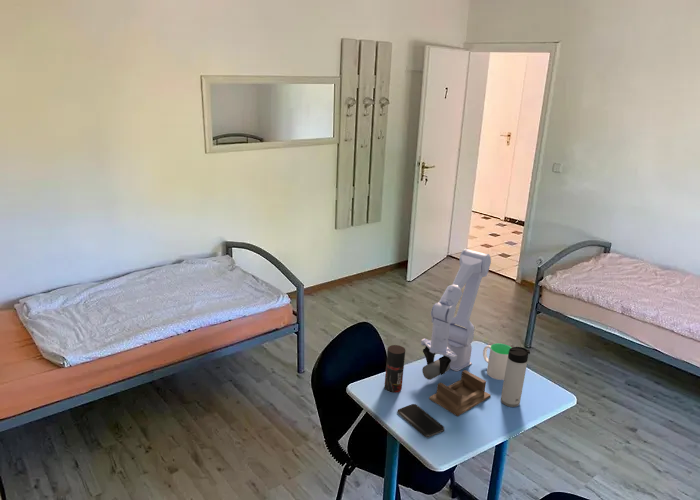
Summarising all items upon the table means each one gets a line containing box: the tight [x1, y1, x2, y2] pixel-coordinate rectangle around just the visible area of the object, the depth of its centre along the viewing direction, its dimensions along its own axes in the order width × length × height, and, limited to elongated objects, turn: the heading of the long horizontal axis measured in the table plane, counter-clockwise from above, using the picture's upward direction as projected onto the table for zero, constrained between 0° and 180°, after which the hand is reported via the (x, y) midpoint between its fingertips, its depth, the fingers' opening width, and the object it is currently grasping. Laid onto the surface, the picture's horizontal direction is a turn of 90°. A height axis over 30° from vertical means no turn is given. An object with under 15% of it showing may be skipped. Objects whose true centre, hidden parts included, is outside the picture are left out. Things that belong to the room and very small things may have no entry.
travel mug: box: [500, 346, 531, 408], centre depth 183 cm, size 6×7×20 cm
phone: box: [396, 403, 445, 438], centre depth 174 cm, size 8×1×15 cm
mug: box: [482, 342, 512, 381], centre depth 203 cm, size 12×8×10 cm, turn 36°
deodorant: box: [384, 344, 406, 394], centre depth 188 cm, size 6×6×15 cm
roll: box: [421, 358, 451, 381], centre depth 194 cm, size 9×5×5 cm, turn 132°
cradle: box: [428, 369, 491, 417], centre depth 186 cm, size 18×12×6 cm, turn 132°
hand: (436, 370), depth 195 cm, fingers closed on roll, 5 cm apart
